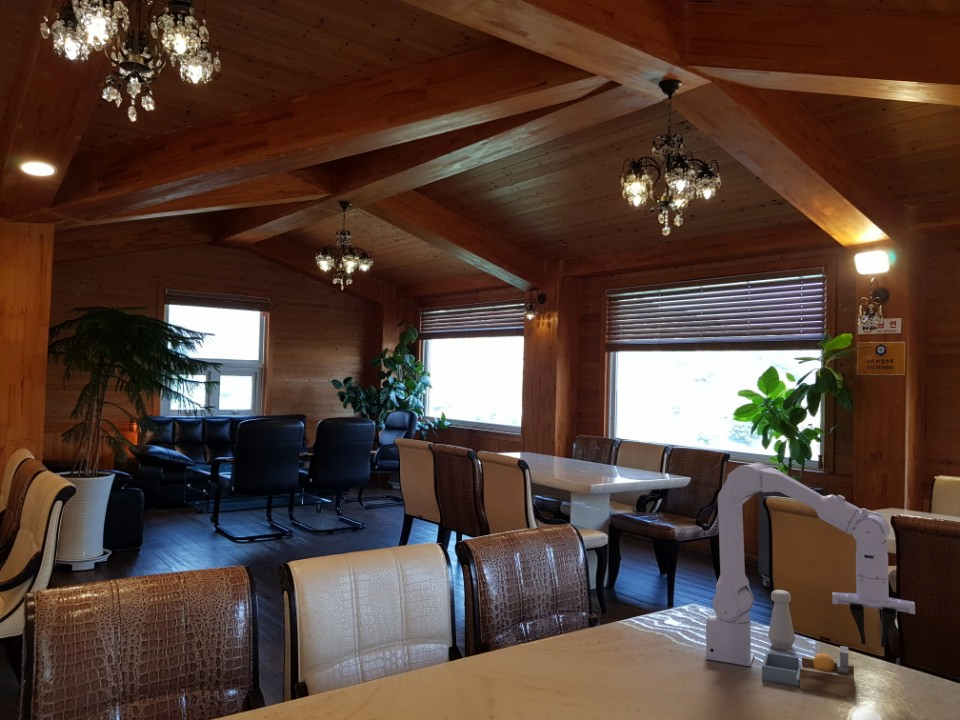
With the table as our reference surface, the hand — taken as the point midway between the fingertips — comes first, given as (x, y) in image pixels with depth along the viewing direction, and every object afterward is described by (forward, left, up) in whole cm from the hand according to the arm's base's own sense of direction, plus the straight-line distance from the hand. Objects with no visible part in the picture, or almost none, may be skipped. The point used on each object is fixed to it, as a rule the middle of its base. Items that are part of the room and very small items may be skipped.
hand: (873, 644), depth 144 cm
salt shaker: (-19, +19, -10) cm, 28 cm away
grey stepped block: (-5, 0, -7) cm, 9 cm away
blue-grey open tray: (-17, 0, -9) cm, 19 cm away
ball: (-9, 0, -5) cm, 10 cm away
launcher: (-8, 0, -9) cm, 13 cm away
